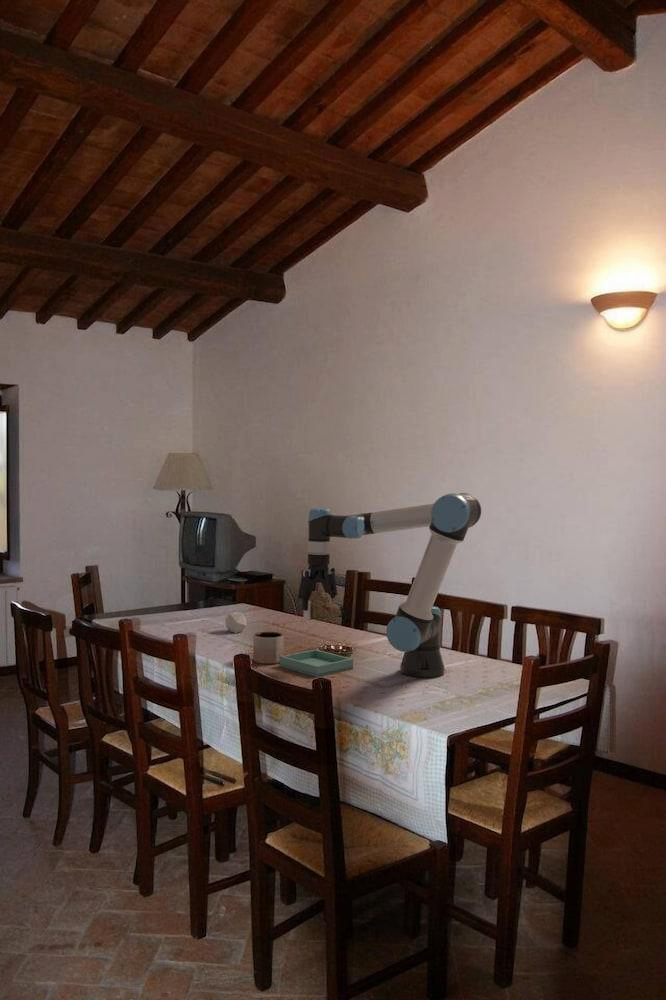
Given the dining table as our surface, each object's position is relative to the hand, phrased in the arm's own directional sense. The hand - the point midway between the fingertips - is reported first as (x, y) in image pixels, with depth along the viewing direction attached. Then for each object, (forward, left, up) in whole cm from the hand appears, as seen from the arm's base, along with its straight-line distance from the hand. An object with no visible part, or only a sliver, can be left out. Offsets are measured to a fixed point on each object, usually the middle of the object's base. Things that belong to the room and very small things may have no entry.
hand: (317, 617), depth 289 cm
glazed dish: (0, 0, -17) cm, 17 cm away
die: (+65, -16, -18) cm, 69 cm away
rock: (+1, -1, -1) cm, 2 cm away
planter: (+18, +7, -18) cm, 26 cm away
